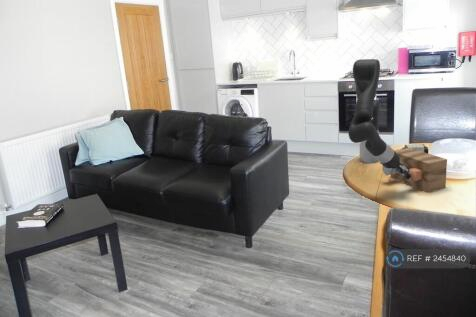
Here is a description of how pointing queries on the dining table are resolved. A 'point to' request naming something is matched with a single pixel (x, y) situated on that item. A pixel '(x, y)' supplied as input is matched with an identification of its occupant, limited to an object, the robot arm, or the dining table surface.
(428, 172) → the socket block
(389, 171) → the grey plug
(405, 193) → the dining table surface
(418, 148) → the pneumatic valve
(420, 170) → the terracotta plug
